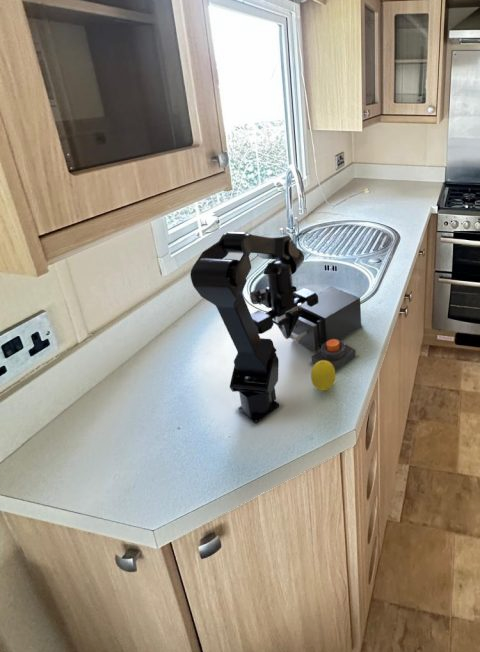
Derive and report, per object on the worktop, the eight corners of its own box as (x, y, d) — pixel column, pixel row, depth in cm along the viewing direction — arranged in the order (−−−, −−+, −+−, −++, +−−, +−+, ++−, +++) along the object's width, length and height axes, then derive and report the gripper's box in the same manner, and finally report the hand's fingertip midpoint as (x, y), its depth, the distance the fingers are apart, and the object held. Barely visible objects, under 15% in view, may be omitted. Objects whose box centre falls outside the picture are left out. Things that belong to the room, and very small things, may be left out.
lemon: (314, 400, 92) (311, 371, 89) (311, 384, 97) (308, 356, 94) (338, 395, 93) (336, 366, 90) (334, 379, 98) (332, 351, 95)
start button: (333, 353, 101) (332, 348, 101) (324, 349, 103) (323, 343, 103) (342, 347, 104) (341, 341, 103) (333, 343, 106) (332, 337, 105)
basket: (303, 359, 104) (301, 333, 101) (278, 344, 110) (275, 320, 107) (348, 330, 116) (347, 306, 113) (323, 318, 122) (321, 295, 119)
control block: (331, 374, 99) (330, 361, 98) (311, 363, 104) (310, 350, 102) (355, 356, 106) (355, 343, 104) (336, 346, 110) (336, 334, 109)
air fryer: (327, 349, 109) (325, 318, 106) (299, 333, 116) (296, 304, 112) (361, 326, 119) (360, 297, 115) (333, 313, 126) (331, 286, 122)
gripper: (289, 262, 110) (295, 312, 116) (227, 289, 97) (237, 343, 103) (317, 273, 104) (322, 325, 110) (255, 303, 90) (264, 361, 96)
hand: (287, 338), depth 105 cm, fingers closed
